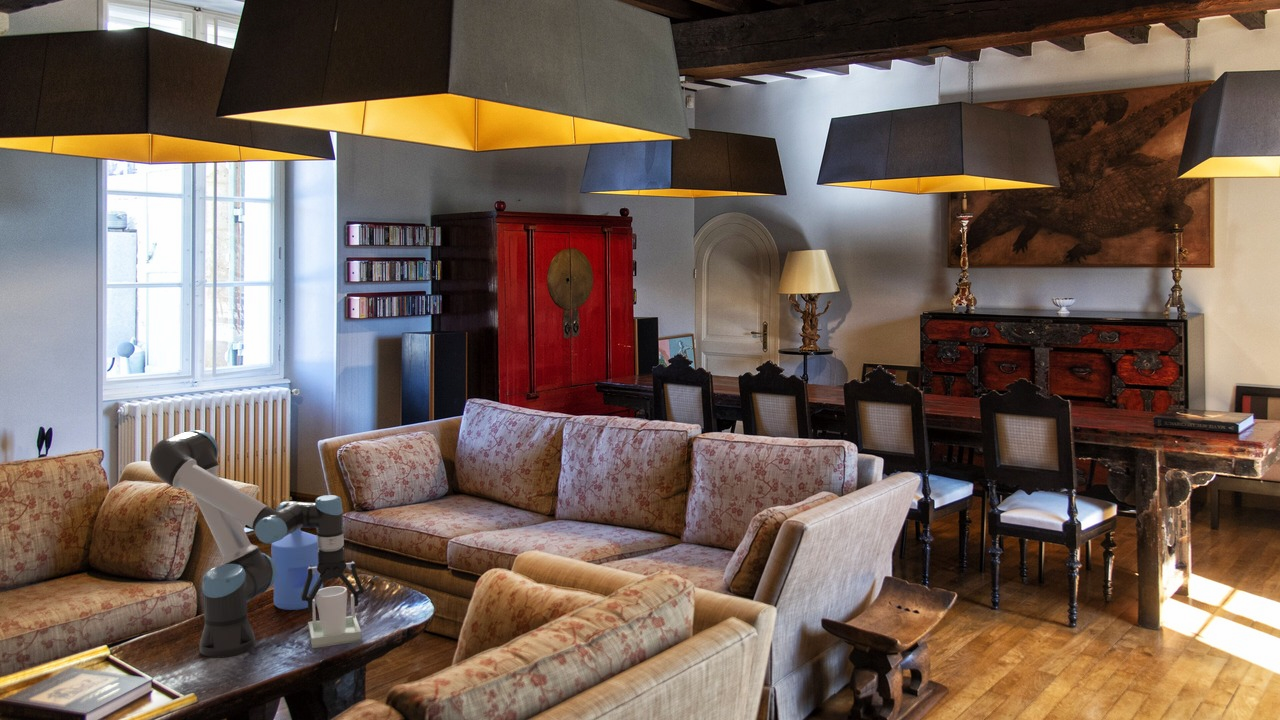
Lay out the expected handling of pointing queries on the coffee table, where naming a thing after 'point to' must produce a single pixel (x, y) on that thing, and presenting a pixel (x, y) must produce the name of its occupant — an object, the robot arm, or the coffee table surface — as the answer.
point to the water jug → (294, 568)
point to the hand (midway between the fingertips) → (333, 619)
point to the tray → (349, 636)
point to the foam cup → (332, 609)
